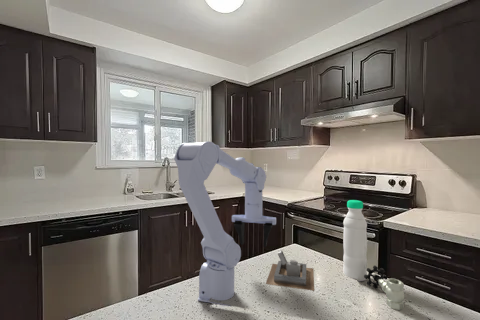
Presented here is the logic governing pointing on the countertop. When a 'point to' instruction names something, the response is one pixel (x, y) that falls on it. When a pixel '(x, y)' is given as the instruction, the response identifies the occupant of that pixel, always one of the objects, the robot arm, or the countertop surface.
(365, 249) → the water bottle
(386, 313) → the countertop surface
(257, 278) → the countertop surface
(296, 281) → the steel collar
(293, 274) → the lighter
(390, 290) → the valve
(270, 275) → the walnut board
